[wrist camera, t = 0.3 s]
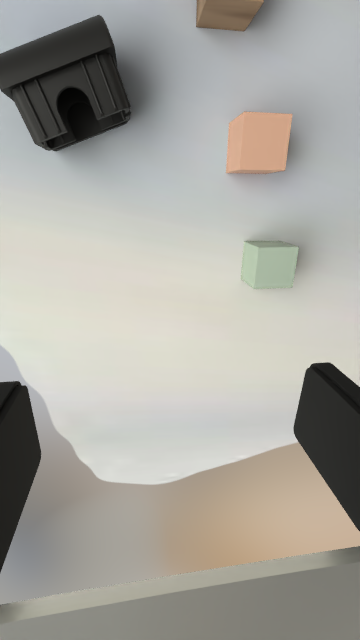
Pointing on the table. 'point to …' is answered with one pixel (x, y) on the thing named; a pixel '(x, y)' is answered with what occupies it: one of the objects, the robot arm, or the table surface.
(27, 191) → the table surface
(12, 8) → the table surface
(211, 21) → the walnut block
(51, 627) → the robot arm
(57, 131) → the black claw piece
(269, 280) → the sage block
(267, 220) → the table surface
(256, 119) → the terracotta block
